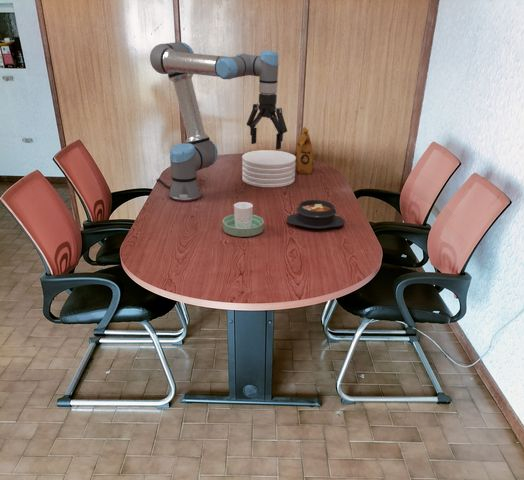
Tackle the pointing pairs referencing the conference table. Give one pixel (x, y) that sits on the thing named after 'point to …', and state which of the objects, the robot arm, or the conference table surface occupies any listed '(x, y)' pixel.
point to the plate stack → (268, 168)
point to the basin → (243, 232)
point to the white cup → (243, 214)
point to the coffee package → (304, 153)
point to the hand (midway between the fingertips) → (265, 146)
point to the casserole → (315, 215)
